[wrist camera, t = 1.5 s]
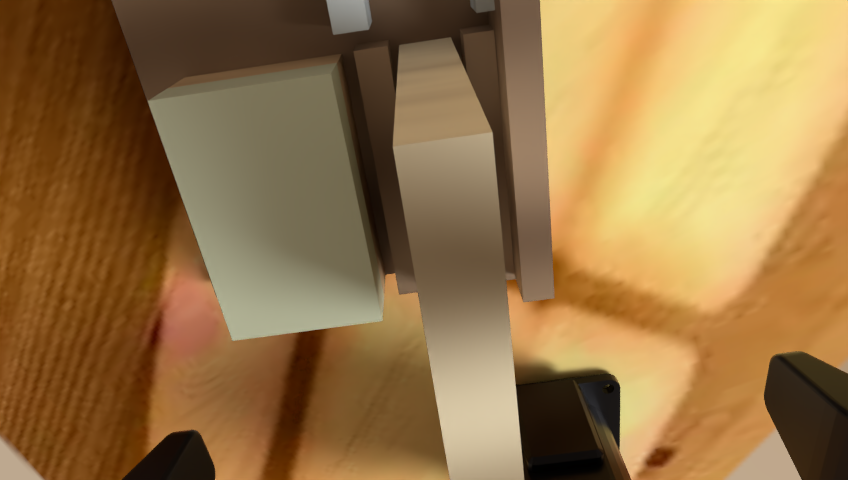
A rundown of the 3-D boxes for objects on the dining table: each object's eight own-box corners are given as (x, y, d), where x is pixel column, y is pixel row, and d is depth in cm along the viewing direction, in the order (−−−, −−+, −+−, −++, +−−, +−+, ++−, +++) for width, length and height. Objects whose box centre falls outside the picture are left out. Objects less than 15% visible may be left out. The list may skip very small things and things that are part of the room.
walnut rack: (531, 246, 23) (554, 303, 19) (225, 288, 23) (193, 351, 20) (491, -361, 15) (517, -453, 11) (30, -280, 16) (-82, -343, 12)
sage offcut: (384, 296, 21) (382, 321, 19) (243, 315, 21) (232, 340, 20) (336, 62, 17) (330, 73, 16) (167, 88, 17) (147, 101, 16)
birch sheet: (476, 262, 22) (524, 484, 13) (433, 268, 22) (452, 492, 13) (450, 37, 18) (492, 132, 9) (399, 44, 18) (392, 146, 10)
